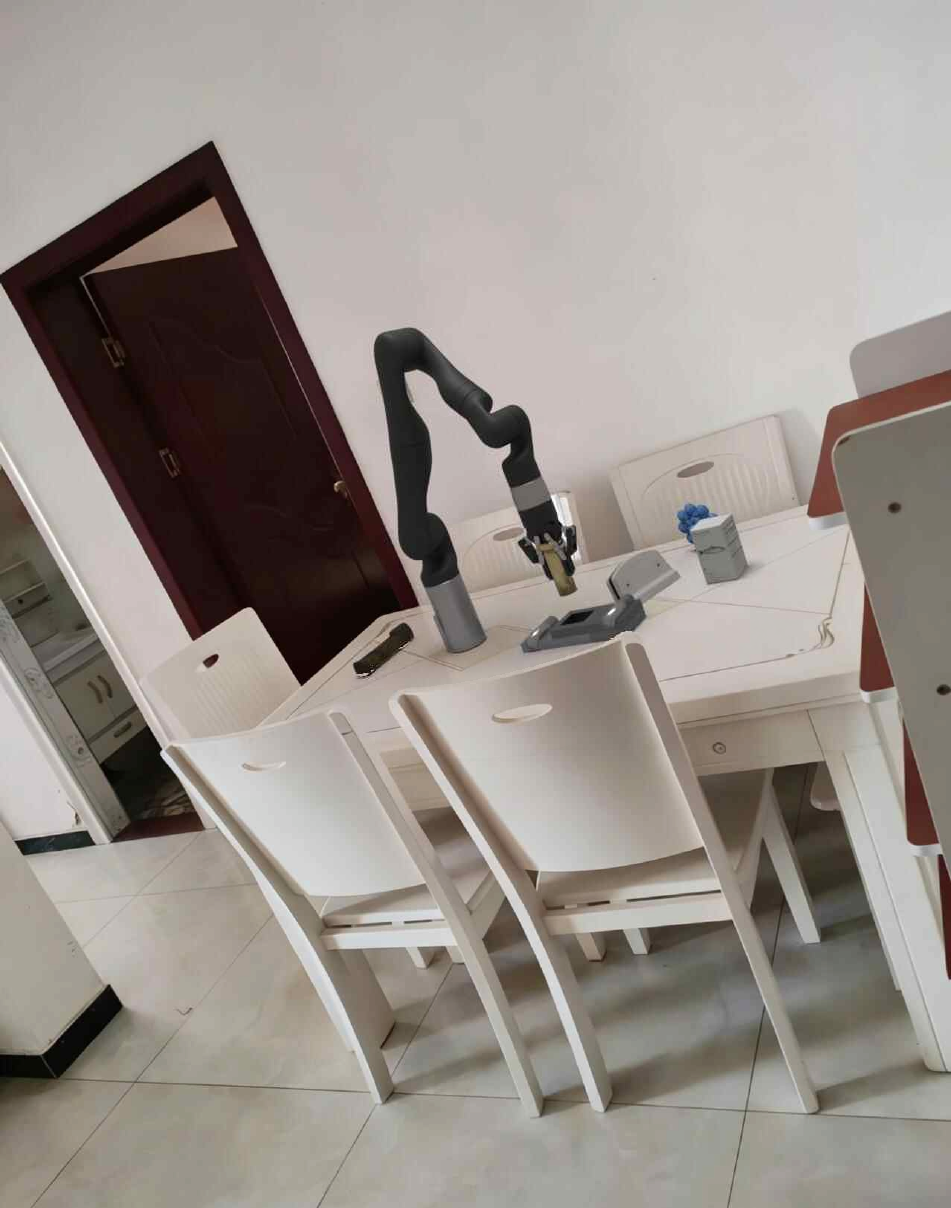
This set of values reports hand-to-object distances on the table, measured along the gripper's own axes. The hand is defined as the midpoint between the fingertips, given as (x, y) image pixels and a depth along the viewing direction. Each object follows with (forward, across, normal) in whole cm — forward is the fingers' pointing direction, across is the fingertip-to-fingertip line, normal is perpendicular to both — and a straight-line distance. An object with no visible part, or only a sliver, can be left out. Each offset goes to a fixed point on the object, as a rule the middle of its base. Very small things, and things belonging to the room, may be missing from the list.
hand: (562, 576), depth 199 cm
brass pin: (+4, 0, 0) cm, 4 cm away
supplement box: (+14, +26, +21) cm, 36 cm away
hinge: (+14, +7, +19) cm, 25 cm away
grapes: (+14, +14, +41) cm, 45 cm away
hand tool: (+14, -62, +5) cm, 64 cm away
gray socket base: (+14, 0, 0) cm, 14 cm away
